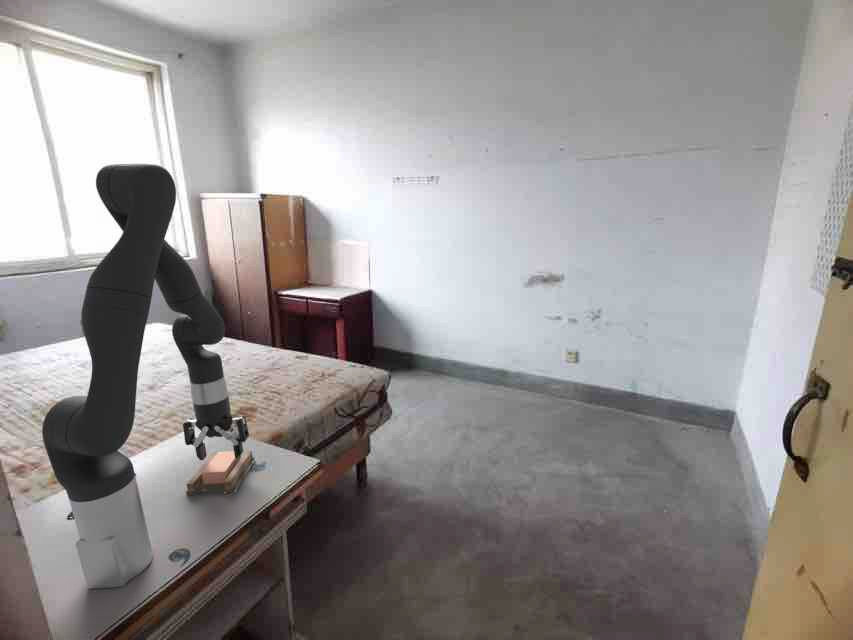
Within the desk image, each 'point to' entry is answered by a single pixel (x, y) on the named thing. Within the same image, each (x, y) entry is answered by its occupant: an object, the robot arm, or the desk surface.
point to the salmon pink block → (219, 467)
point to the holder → (229, 485)
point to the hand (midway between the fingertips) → (220, 457)
